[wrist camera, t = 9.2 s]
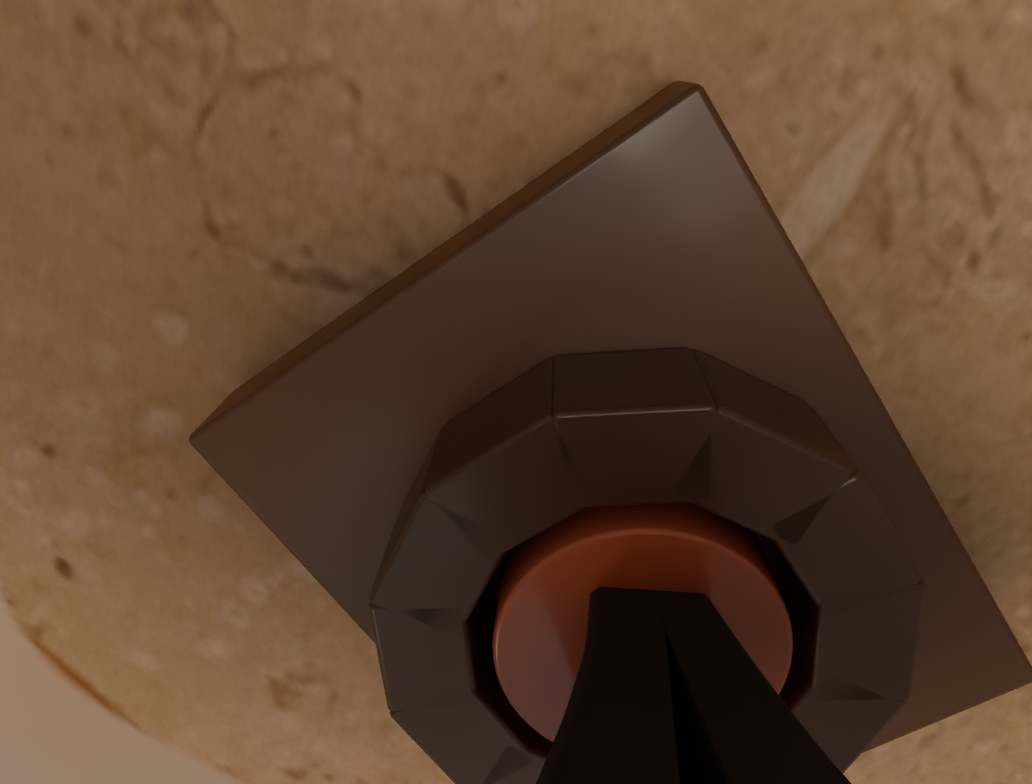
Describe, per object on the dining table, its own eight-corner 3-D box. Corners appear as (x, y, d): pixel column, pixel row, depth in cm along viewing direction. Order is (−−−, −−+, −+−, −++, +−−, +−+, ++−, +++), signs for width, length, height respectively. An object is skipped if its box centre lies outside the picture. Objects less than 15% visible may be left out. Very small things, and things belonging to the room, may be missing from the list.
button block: (231, 392, 12) (115, 510, 9) (678, 77, 10) (733, 86, 7) (580, 788, 15) (586, 982, 12) (984, 607, 13) (1121, 785, 10)
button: (450, 538, 11) (432, 620, 9) (675, 408, 10) (698, 475, 8) (591, 705, 12) (595, 804, 10) (805, 601, 11) (848, 694, 9)
